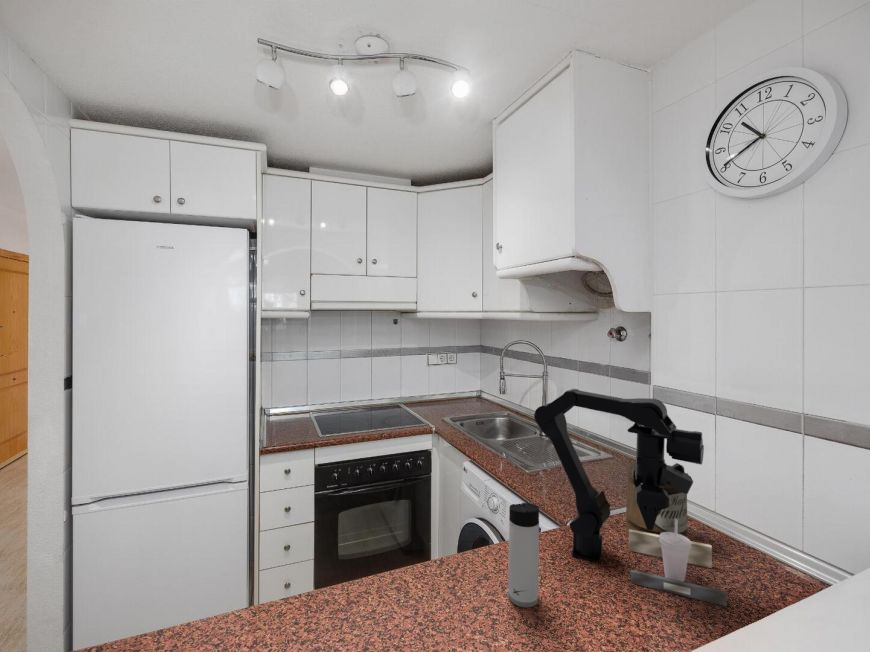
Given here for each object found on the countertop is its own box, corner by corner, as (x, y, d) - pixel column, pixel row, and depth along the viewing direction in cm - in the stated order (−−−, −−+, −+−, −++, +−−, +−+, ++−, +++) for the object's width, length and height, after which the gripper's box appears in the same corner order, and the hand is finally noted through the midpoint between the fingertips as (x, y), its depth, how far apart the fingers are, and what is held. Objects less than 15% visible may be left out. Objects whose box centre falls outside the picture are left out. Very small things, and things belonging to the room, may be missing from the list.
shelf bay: (630, 583, 92) (631, 561, 92) (628, 548, 106) (629, 529, 106) (726, 607, 85) (727, 583, 84) (710, 565, 99) (710, 545, 99)
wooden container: (664, 555, 103) (665, 469, 103) (614, 528, 117) (615, 452, 116) (698, 541, 110) (699, 460, 110) (648, 517, 123) (649, 445, 123)
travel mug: (517, 611, 83) (518, 513, 82) (503, 591, 89) (504, 499, 89) (544, 606, 84) (545, 510, 84) (529, 586, 91) (530, 496, 90)
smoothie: (695, 581, 93) (695, 520, 93) (685, 593, 89) (686, 529, 88) (664, 568, 98) (665, 510, 98) (654, 579, 93) (654, 518, 93)
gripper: (698, 473, 83) (696, 549, 83) (683, 447, 100) (681, 510, 100) (637, 464, 87) (635, 536, 88) (633, 441, 105) (631, 501, 105)
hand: (648, 520), depth 95 cm, fingers open, 9 cm apart
